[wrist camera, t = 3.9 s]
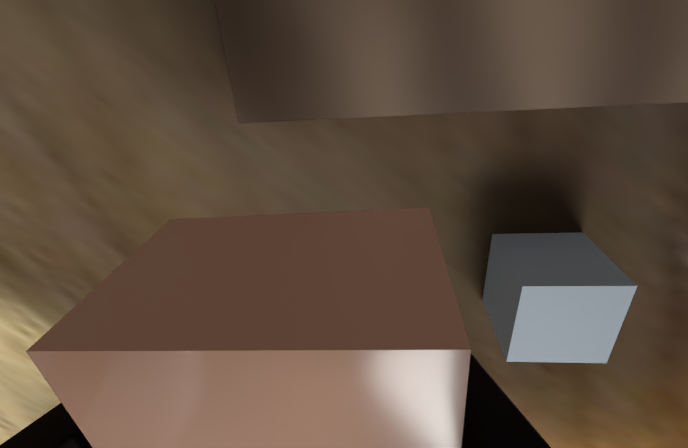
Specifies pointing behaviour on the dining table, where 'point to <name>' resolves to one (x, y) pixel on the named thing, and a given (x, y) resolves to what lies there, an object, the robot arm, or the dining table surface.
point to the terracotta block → (269, 337)
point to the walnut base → (449, 56)
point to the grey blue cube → (554, 297)
